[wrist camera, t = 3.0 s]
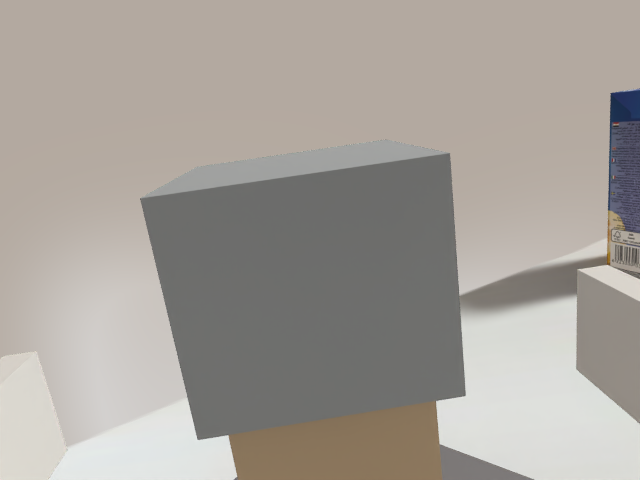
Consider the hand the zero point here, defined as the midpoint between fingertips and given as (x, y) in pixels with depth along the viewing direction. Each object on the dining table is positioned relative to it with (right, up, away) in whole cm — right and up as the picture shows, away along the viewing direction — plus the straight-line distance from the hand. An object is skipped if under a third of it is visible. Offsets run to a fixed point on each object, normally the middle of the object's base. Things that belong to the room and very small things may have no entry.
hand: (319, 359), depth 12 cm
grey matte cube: (0, -2, +11) cm, 11 cm away
